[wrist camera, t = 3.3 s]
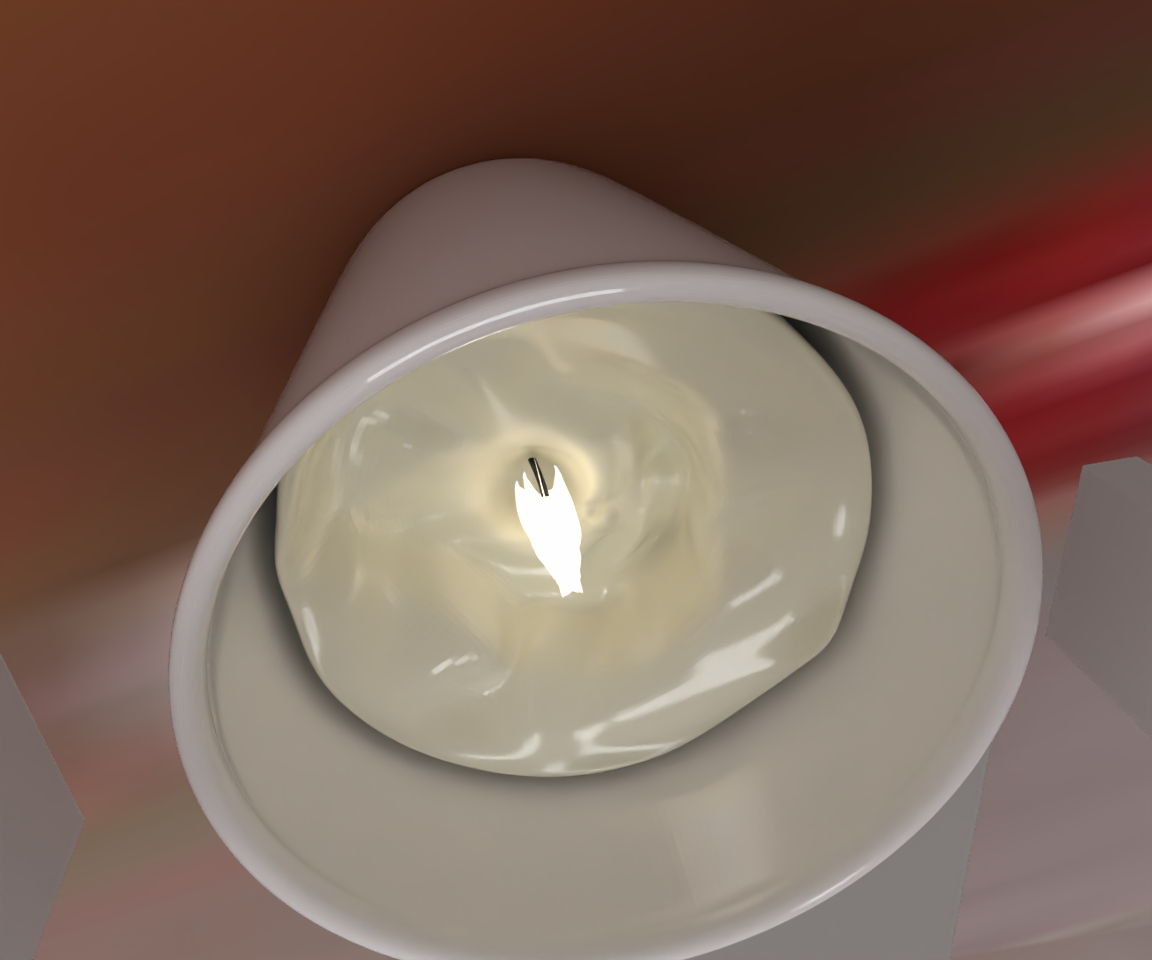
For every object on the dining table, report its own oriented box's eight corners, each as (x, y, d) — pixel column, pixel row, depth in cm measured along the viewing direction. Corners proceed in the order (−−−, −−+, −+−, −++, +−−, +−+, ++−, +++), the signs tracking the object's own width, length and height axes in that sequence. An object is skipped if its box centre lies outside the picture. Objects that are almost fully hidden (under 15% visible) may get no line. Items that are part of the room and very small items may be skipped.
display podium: (904, 535, 25) (1010, 649, 20) (871, 829, 31) (947, 967, 26) (474, 606, 24) (490, 743, 19) (525, 899, 29) (545, 1055, 25)
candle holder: (216, 408, 20) (3, 858, 10) (452, 6, 17) (521, 15, 7) (568, 588, 24) (692, 1046, 13) (810, 285, 21) (1211, 570, 10)
